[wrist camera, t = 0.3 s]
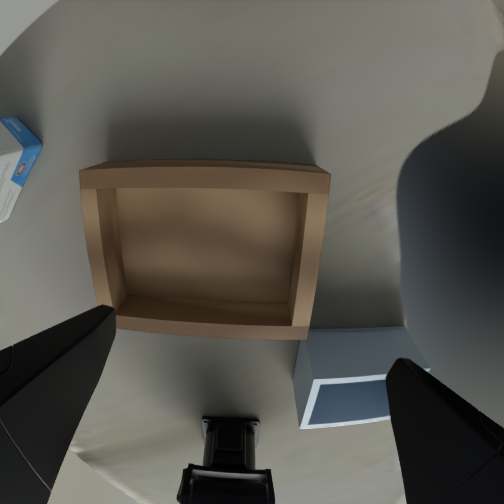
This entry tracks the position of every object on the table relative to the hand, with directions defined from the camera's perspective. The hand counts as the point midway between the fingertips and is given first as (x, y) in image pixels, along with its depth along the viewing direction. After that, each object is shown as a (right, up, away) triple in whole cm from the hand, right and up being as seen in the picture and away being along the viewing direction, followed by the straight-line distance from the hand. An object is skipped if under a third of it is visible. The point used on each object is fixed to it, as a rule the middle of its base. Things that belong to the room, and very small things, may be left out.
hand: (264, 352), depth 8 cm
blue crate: (+9, -7, +18) cm, 21 cm away
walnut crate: (-4, +4, +13) cm, 14 cm away
